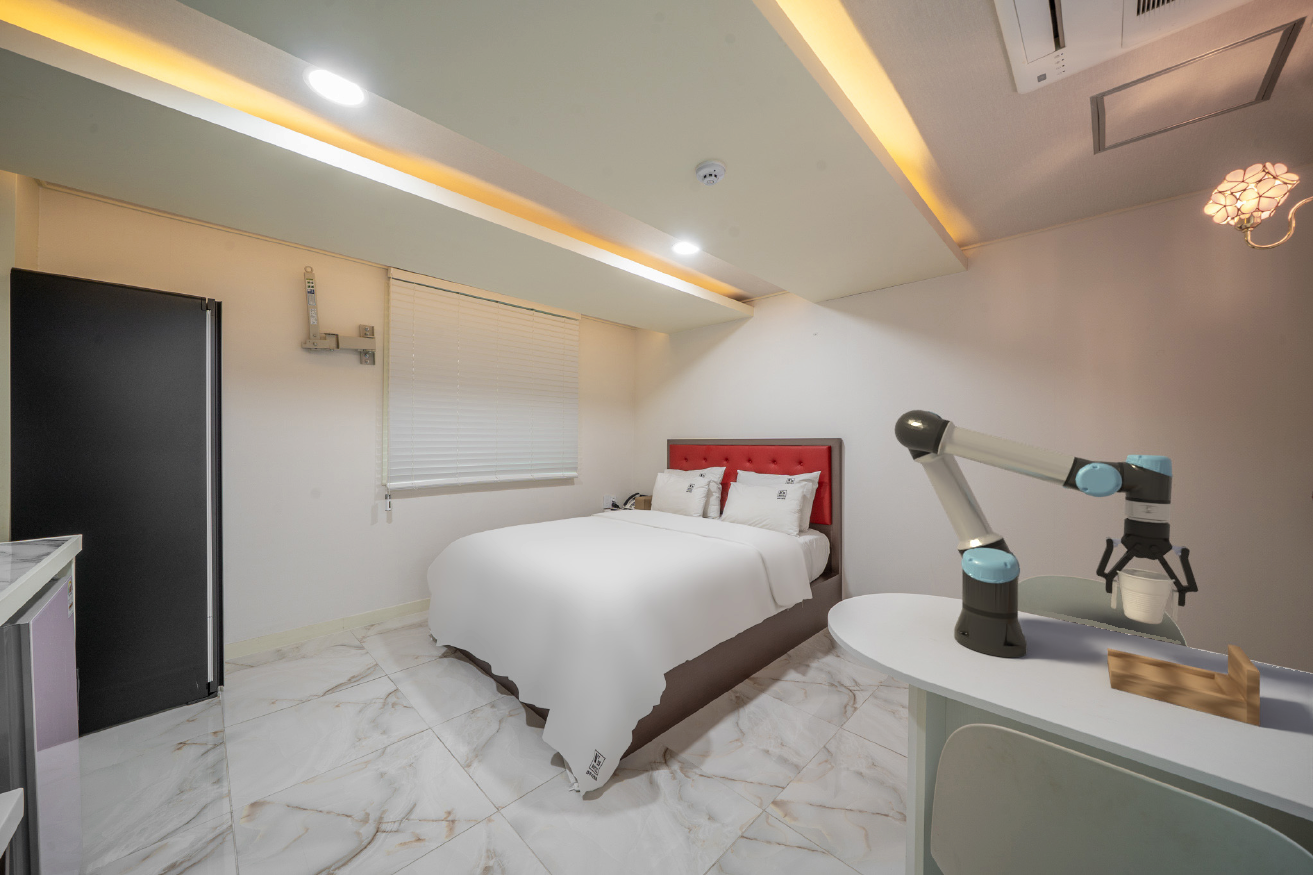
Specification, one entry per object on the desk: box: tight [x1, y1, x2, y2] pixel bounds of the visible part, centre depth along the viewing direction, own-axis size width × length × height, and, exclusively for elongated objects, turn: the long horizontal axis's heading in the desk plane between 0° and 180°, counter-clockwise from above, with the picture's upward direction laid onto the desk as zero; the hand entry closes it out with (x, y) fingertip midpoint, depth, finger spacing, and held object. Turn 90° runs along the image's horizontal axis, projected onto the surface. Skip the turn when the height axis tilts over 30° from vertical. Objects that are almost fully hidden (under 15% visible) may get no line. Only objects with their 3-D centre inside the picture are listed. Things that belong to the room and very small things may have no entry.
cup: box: [1116, 567, 1175, 625], centre depth 111 cm, size 10×10×11 cm
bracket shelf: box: [1106, 644, 1261, 727], centre depth 97 cm, size 20×14×10 cm
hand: (1142, 612), depth 111 cm, fingers closed on cup, 9 cm apart
